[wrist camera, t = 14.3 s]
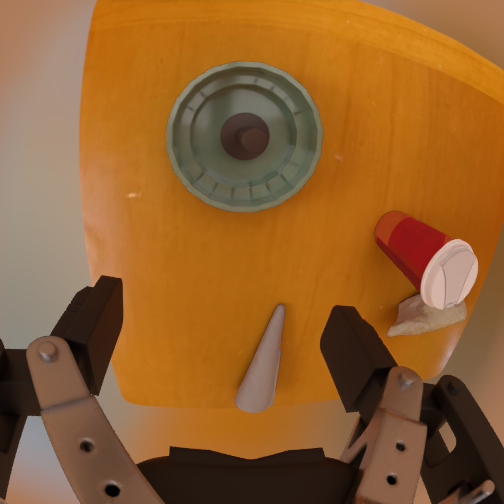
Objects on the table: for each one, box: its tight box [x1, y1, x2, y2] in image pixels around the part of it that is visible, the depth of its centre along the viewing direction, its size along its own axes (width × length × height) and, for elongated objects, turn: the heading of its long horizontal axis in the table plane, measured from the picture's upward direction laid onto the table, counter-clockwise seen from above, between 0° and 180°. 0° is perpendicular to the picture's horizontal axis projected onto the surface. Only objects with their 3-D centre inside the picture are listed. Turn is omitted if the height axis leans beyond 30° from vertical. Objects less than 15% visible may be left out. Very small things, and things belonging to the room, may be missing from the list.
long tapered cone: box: [234, 304, 285, 412], centre depth 44 cm, size 6×6×19 cm
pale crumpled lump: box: [387, 293, 466, 337], centre depth 43 cm, size 15×7×15 cm
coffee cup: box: [375, 211, 478, 310], centre depth 33 cm, size 8×8×15 cm
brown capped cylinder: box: [220, 112, 270, 160], centre depth 27 cm, size 5×5×11 cm
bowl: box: [167, 61, 323, 212], centre depth 30 cm, size 15×15×6 cm
